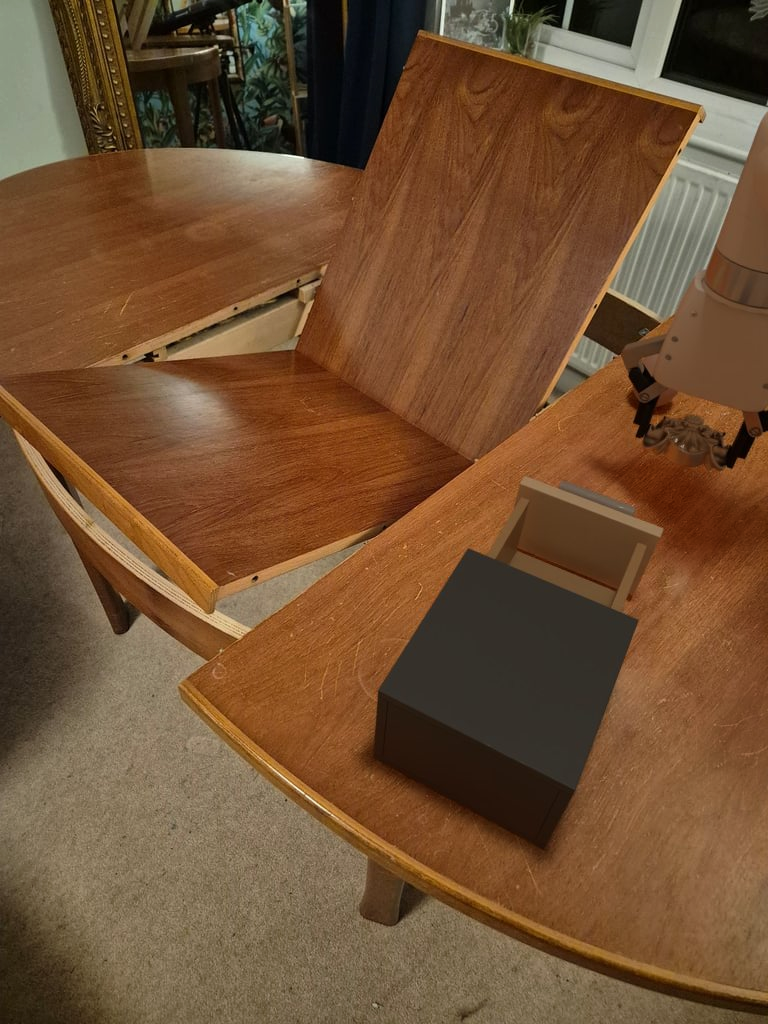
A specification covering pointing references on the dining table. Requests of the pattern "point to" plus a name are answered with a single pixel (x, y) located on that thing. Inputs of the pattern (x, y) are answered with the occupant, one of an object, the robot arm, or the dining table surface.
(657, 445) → the ornament
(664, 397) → the egg
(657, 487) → the dining table surface
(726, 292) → the robot arm
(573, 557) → the drawer
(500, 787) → the cabinet
